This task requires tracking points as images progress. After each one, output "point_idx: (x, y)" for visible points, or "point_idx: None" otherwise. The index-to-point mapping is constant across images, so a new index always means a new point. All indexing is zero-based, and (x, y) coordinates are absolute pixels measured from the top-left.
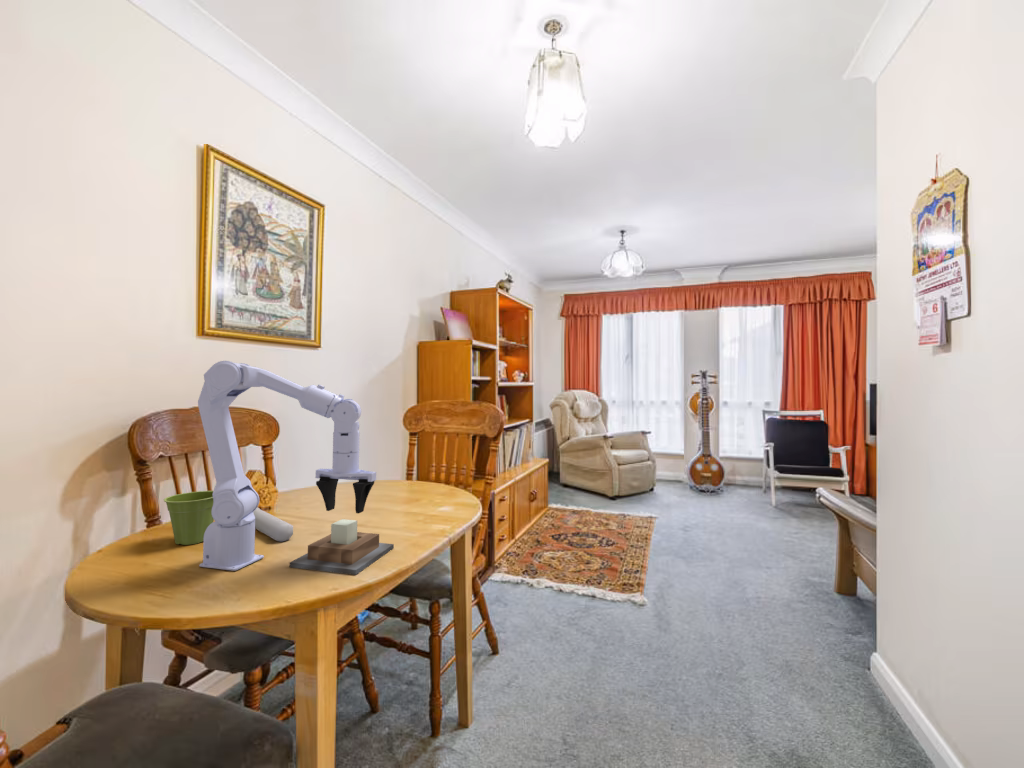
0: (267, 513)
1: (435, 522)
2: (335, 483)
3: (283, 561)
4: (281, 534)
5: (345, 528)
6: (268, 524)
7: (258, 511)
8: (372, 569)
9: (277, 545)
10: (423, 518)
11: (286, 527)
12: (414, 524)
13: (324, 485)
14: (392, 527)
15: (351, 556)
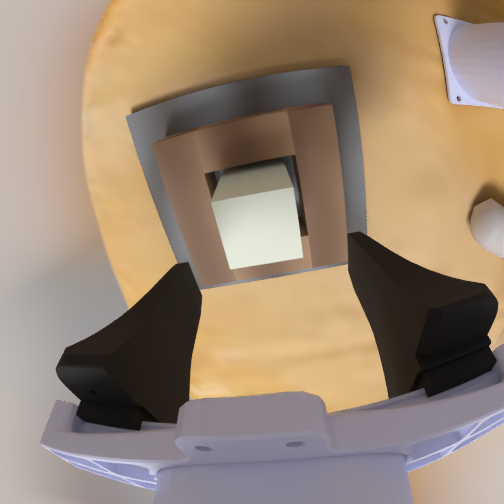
0: None
1: None
2: (391, 380)
3: (392, 95)
4: (486, 208)
5: (218, 195)
6: None
7: None
8: (125, 161)
9: (472, 183)
10: None
11: (490, 227)
12: (266, 386)
13: (418, 303)
14: (298, 365)
15: (161, 139)
